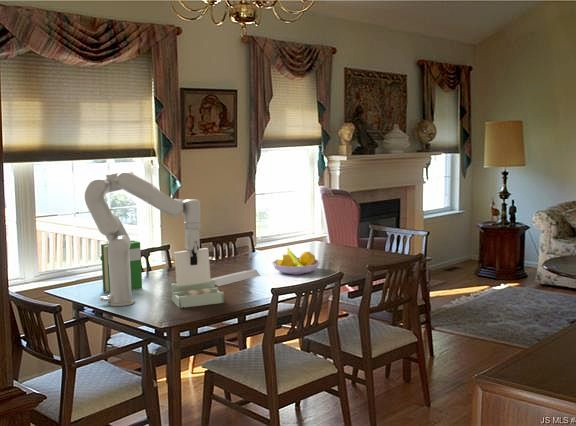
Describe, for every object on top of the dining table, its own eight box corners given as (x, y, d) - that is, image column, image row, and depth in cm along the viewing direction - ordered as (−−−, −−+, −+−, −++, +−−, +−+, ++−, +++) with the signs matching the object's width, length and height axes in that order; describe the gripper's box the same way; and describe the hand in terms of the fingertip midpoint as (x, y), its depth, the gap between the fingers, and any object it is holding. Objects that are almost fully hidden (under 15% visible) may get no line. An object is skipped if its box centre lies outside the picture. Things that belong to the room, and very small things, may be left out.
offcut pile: (189, 306, 306) (189, 293, 305) (185, 303, 311) (184, 291, 310) (214, 303, 311) (213, 290, 310) (209, 300, 316) (208, 287, 316)
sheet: (177, 286, 313) (175, 252, 310) (176, 285, 315) (174, 252, 312) (210, 281, 319) (208, 248, 317) (209, 280, 321) (207, 247, 318)
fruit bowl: (321, 276, 362) (320, 256, 361) (271, 277, 363) (270, 257, 361) (319, 266, 390) (319, 247, 389) (273, 267, 391) (272, 247, 389)
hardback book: (109, 294, 331) (107, 246, 328) (103, 291, 337) (100, 244, 334) (142, 288, 342) (140, 242, 339) (135, 285, 348) (133, 240, 345)
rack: (179, 307, 303) (178, 290, 302) (171, 300, 316) (171, 283, 315) (223, 302, 311) (223, 285, 310) (214, 295, 324) (214, 279, 323)
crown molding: (245, 274, 375) (245, 267, 375) (260, 277, 367) (260, 270, 367) (203, 284, 352) (203, 277, 352) (218, 287, 344) (218, 280, 344)
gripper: (180, 224, 319) (181, 262, 321) (188, 228, 305) (189, 268, 307) (195, 223, 322) (196, 260, 324) (204, 227, 307) (205, 266, 310)
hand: (193, 264), depth 315 cm, fingers closed on sheet, 2 cm apart
